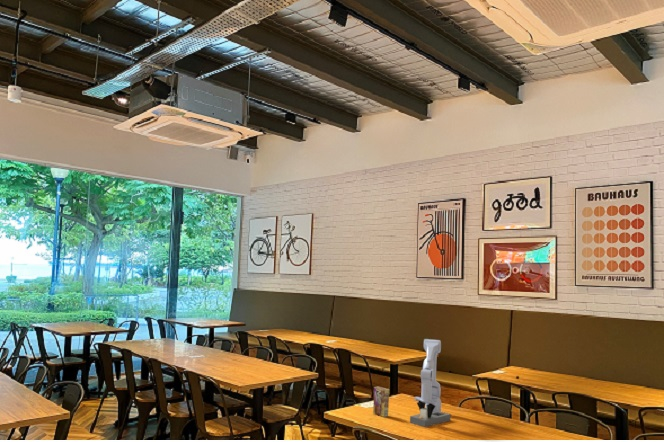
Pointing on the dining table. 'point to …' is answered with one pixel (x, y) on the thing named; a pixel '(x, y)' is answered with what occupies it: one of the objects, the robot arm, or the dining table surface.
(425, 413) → the plug
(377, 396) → the candy box
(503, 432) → the dining table surface
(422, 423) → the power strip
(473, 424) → the dining table surface
